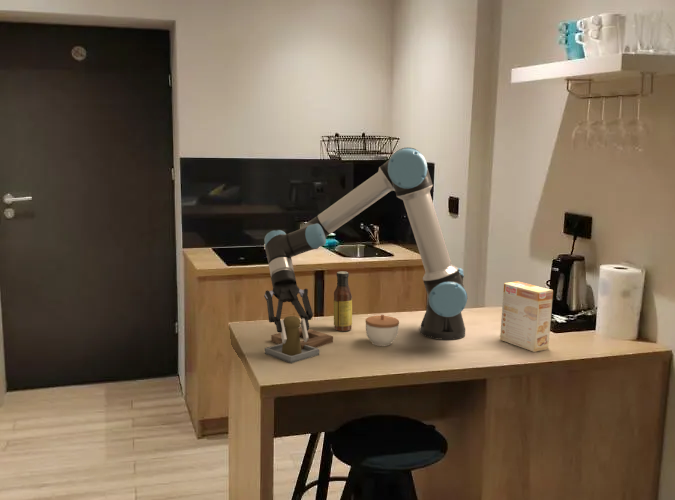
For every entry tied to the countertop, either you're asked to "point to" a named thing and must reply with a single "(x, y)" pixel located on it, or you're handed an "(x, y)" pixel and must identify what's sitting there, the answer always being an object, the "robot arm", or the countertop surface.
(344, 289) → the sauce bottle
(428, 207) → the robot arm
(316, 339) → the socket block
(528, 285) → the coffeecake box
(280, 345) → the tray
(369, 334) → the lidded jar
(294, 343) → the olive brown bulbous peg
